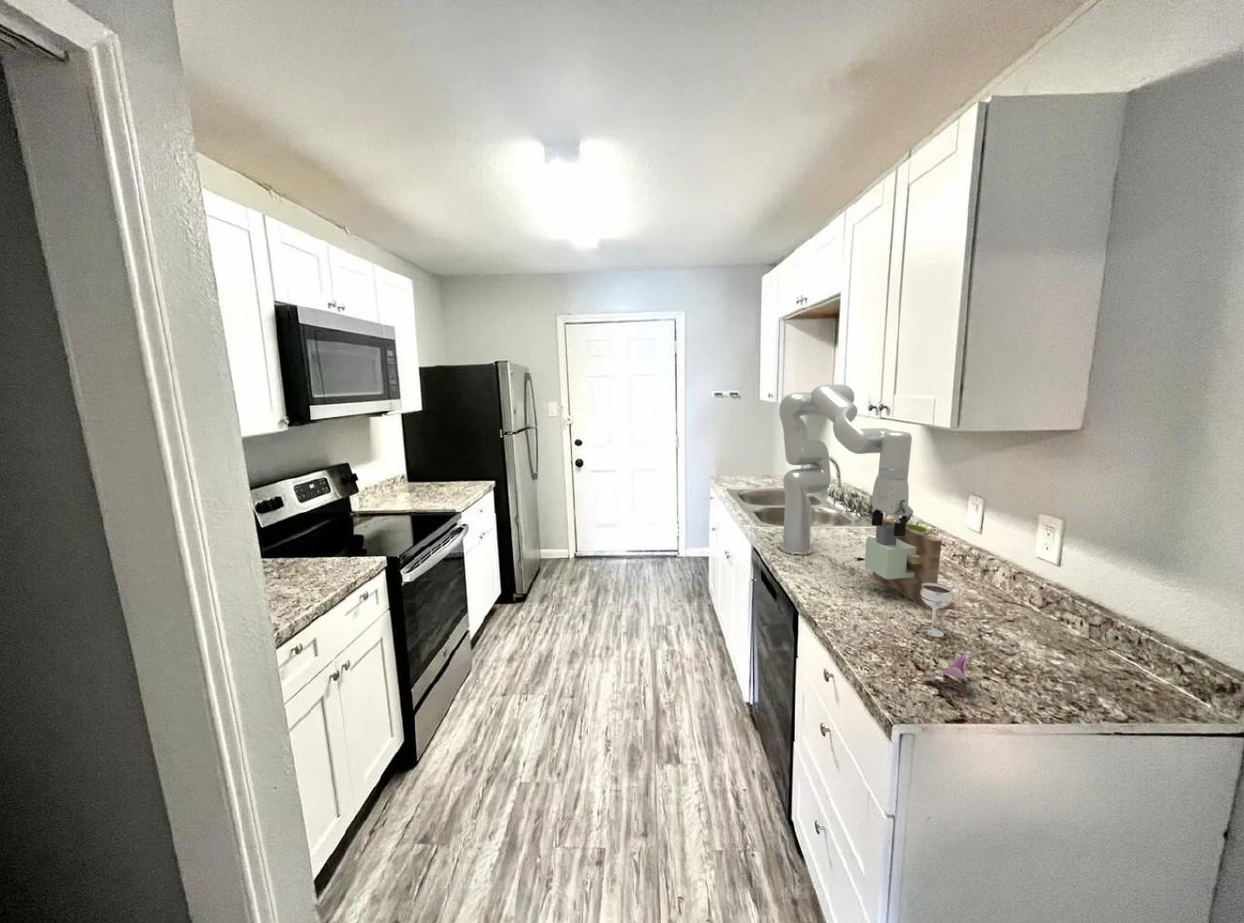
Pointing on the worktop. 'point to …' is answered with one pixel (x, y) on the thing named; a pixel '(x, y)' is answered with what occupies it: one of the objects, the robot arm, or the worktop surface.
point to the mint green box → (888, 554)
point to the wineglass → (935, 602)
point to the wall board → (917, 564)
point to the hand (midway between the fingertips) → (887, 530)
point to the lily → (958, 668)
